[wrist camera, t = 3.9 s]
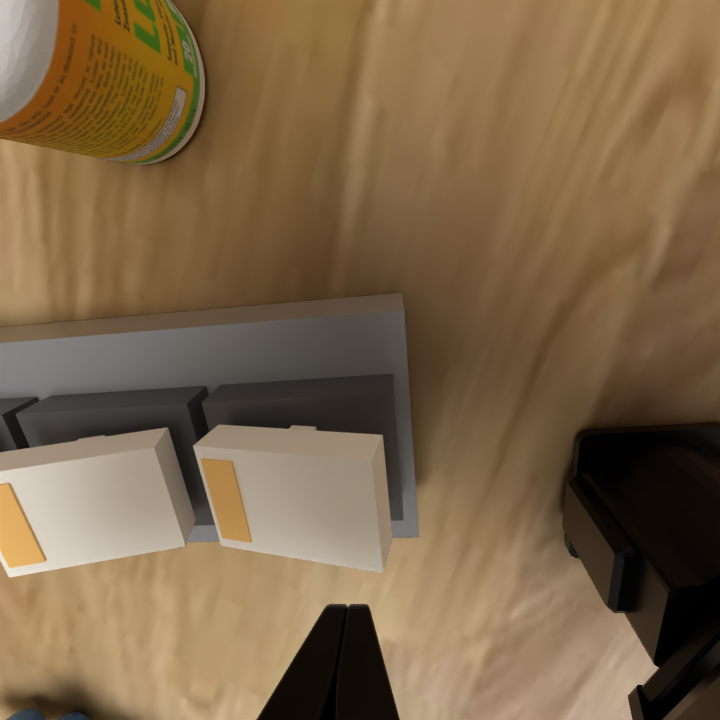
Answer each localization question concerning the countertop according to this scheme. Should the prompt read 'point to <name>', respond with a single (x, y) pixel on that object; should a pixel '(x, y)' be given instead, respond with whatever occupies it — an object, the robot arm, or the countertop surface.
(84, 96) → the supplement bottle
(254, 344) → the rocker switch strip
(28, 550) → the middle rocker
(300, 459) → the block
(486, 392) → the countertop surface
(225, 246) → the countertop surface
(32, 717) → the grapes
